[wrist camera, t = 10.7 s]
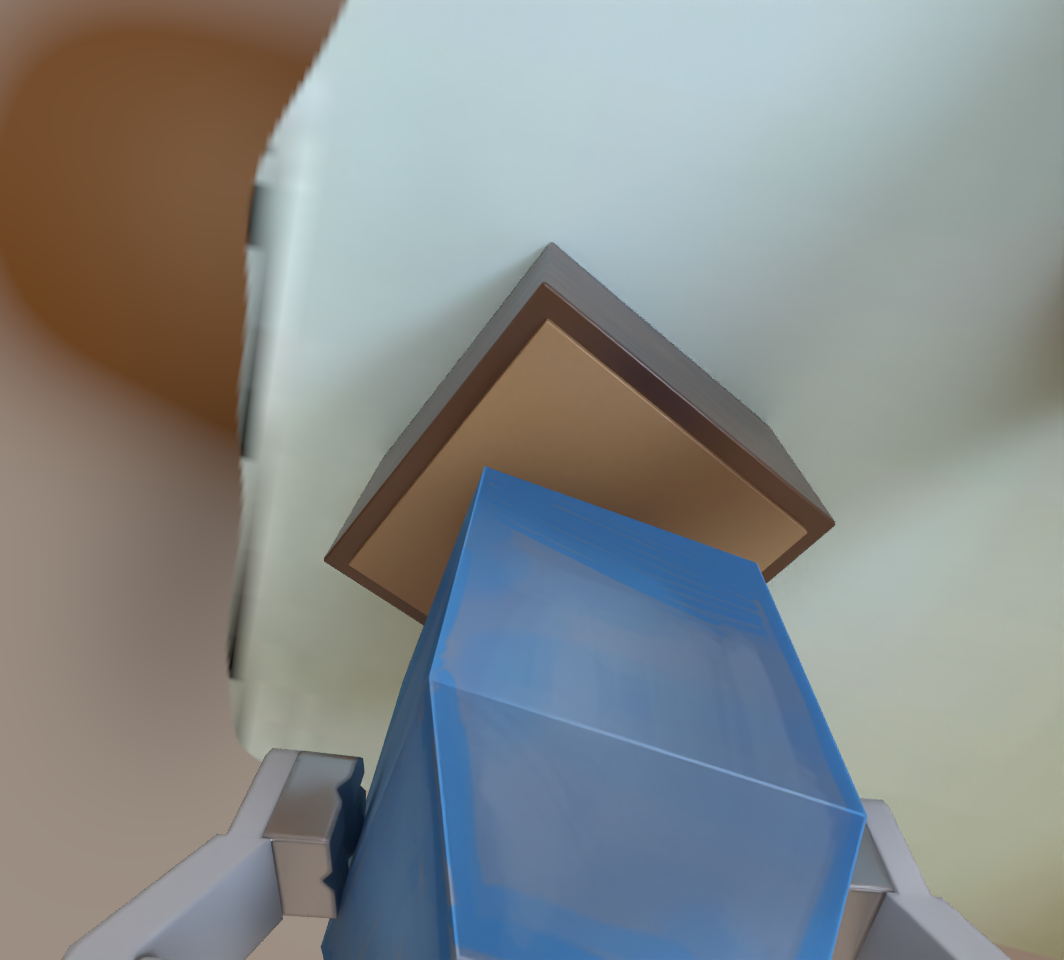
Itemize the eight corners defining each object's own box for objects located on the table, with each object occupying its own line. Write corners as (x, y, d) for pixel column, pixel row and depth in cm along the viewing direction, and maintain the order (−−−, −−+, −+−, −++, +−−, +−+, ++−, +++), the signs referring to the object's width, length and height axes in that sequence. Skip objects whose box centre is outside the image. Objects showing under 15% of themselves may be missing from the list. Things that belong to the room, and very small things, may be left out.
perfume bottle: (403, 680, 17) (107, 1635, 6) (484, 466, 14) (216, 1487, 3) (637, 754, 18) (742, 1727, 7) (757, 562, 15) (1236, 1663, 4)
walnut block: (769, 426, 25) (842, 530, 18) (586, 602, 28) (590, 741, 22) (551, 240, 22) (543, 282, 16) (381, 459, 26) (318, 567, 19)
